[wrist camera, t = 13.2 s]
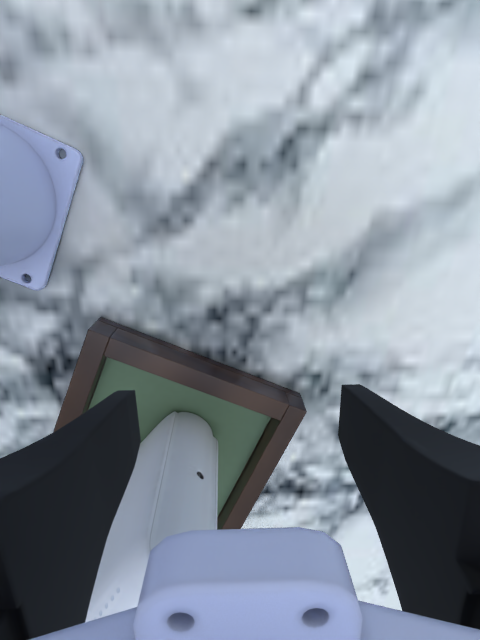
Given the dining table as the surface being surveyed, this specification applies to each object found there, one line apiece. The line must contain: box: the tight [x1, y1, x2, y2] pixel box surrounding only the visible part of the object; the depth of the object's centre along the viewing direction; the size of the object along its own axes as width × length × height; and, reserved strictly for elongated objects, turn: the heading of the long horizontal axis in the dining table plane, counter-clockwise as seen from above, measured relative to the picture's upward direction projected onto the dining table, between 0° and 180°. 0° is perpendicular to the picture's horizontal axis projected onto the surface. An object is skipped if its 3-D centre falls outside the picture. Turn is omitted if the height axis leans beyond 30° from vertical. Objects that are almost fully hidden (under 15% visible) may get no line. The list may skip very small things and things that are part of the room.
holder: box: [54, 317, 307, 530], centre depth 25 cm, size 13×15×2 cm
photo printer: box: [85, 411, 218, 622], centre depth 20 cm, size 10×4×12 cm, turn 141°
